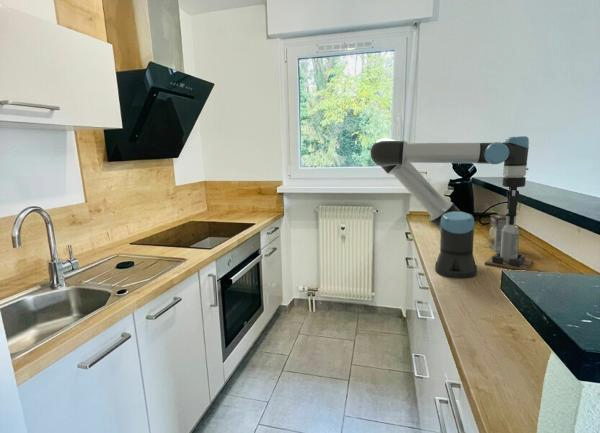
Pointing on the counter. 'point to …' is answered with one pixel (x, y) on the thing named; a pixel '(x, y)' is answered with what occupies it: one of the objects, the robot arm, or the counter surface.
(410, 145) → the robot arm
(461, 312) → the counter surface
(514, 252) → the energy drink can
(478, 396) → the counter surface
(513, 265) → the socket board
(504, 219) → the coffee box
